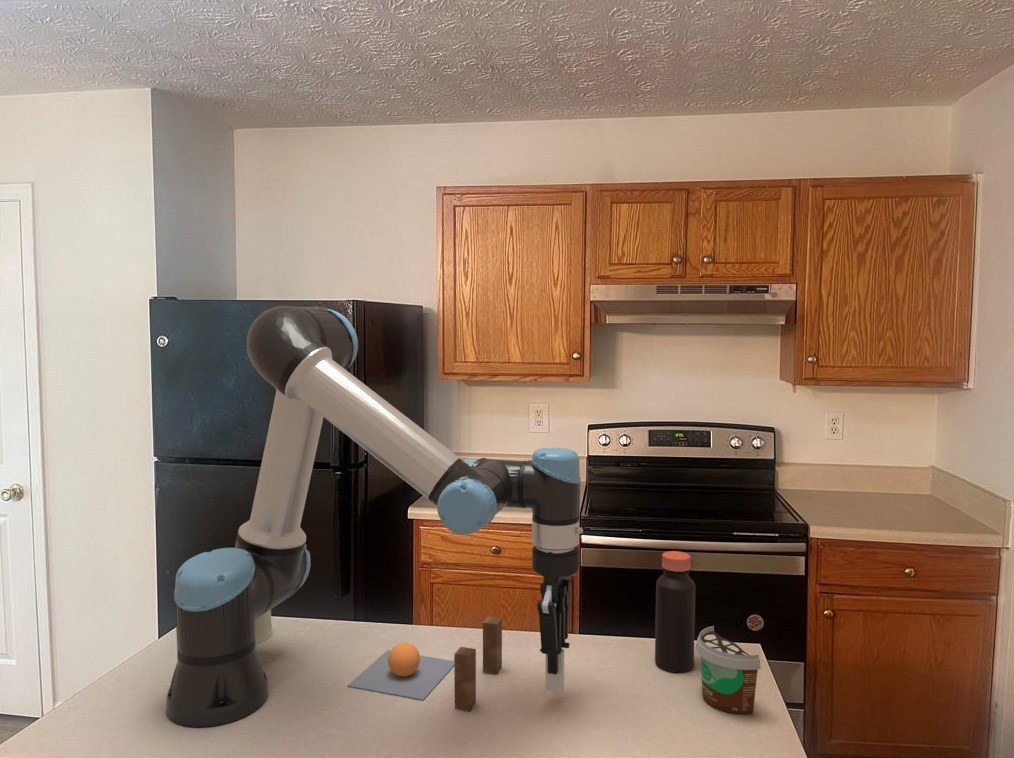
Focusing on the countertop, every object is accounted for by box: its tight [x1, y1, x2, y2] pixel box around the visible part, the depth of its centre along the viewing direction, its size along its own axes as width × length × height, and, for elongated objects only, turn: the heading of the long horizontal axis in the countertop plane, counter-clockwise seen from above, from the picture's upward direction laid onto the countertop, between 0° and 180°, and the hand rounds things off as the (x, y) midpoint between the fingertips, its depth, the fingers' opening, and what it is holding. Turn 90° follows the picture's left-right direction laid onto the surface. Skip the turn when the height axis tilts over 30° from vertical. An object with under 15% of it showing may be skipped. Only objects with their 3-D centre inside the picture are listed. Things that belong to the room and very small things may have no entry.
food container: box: [695, 625, 762, 716], centre depth 115 cm, size 12×6×10 cm, turn 21°
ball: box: [388, 642, 421, 677], centre depth 124 cm, size 6×6×6 cm
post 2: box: [482, 616, 503, 676], centre depth 126 cm, size 3×3×9 cm
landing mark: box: [347, 649, 454, 702], centre depth 125 cm, size 14×14×1 cm
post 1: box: [453, 646, 477, 713], centre depth 114 cm, size 3×3×9 cm
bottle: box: [654, 550, 696, 674], centre depth 128 cm, size 7×7×20 cm
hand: (554, 689), depth 116 cm, fingers closed
